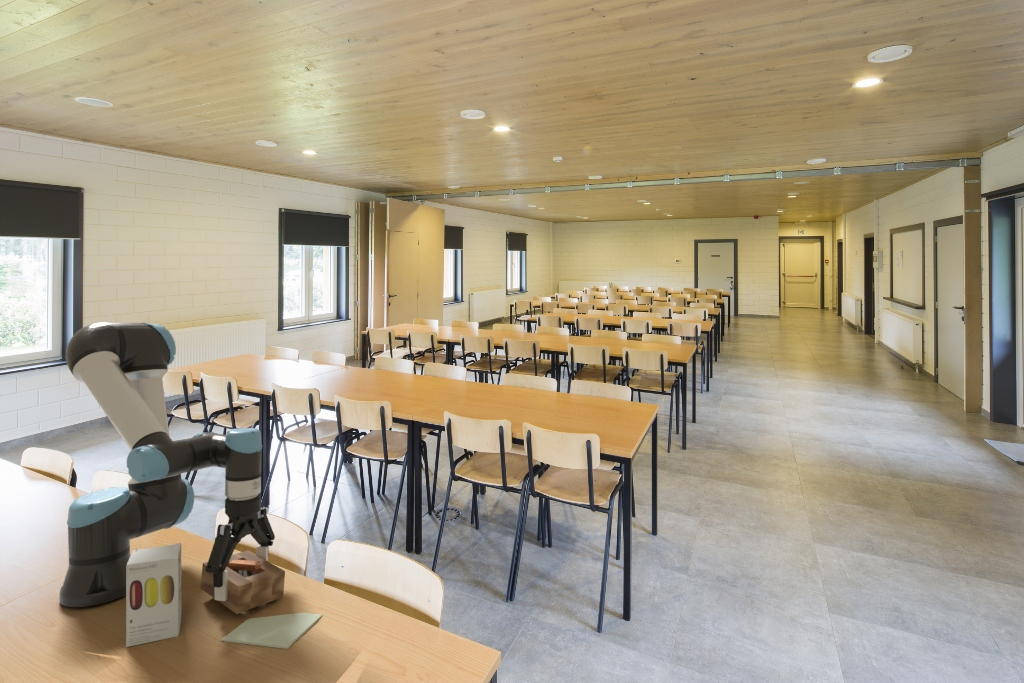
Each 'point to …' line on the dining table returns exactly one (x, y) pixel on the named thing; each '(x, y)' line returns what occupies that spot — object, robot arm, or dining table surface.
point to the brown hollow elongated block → (248, 584)
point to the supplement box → (153, 594)
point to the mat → (273, 630)
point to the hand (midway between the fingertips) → (242, 586)
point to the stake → (245, 566)
